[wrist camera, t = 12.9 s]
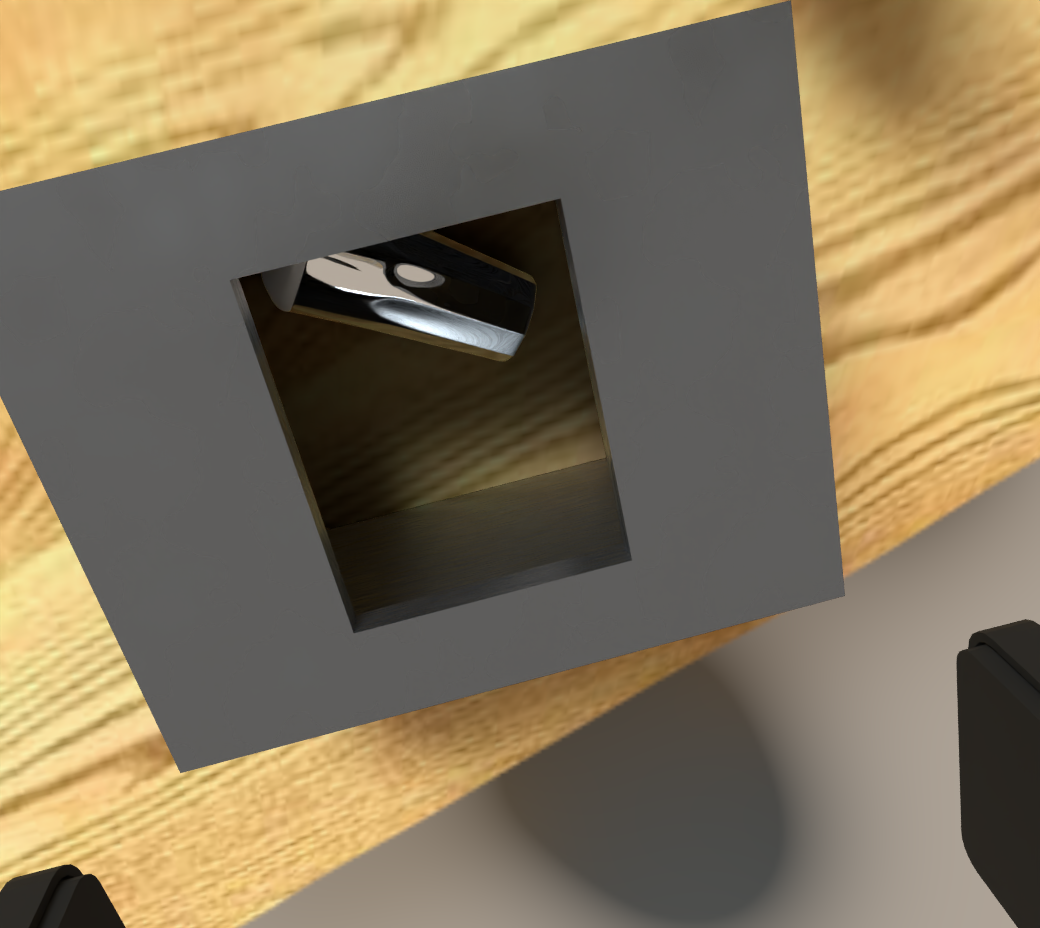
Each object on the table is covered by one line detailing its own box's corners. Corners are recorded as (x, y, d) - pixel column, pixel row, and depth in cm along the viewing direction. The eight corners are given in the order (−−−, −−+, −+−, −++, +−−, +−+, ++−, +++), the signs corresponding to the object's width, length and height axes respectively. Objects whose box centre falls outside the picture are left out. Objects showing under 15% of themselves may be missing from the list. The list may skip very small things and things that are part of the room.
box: (650, 42, 31) (790, 0, 20) (711, 453, 37) (844, 596, 26) (90, 177, 30) (-88, 212, 19) (247, 573, 36) (180, 772, 25)
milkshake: (537, 360, 29) (228, 258, 26) (486, 389, 34) (222, 307, 31) (565, 234, 30) (269, 121, 27) (511, 280, 35) (256, 189, 32)
